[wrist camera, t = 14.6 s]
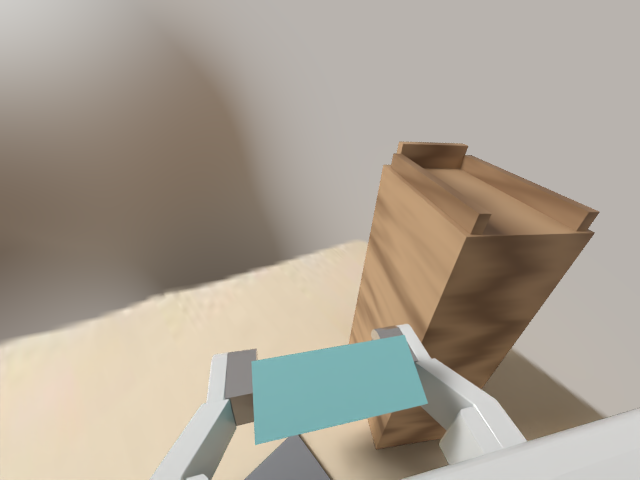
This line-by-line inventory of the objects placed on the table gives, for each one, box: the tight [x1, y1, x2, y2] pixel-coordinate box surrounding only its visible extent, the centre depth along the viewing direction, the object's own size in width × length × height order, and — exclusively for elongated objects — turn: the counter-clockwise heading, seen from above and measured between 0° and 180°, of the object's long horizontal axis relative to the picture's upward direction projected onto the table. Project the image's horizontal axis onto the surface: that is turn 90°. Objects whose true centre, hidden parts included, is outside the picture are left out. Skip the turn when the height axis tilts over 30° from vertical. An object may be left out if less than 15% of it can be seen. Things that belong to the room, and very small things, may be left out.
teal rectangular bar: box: [251, 335, 428, 445], centre depth 15 cm, size 4×20×2 cm
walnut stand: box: [349, 142, 599, 449], centre depth 26 cm, size 8×12×28 cm, turn 9°
